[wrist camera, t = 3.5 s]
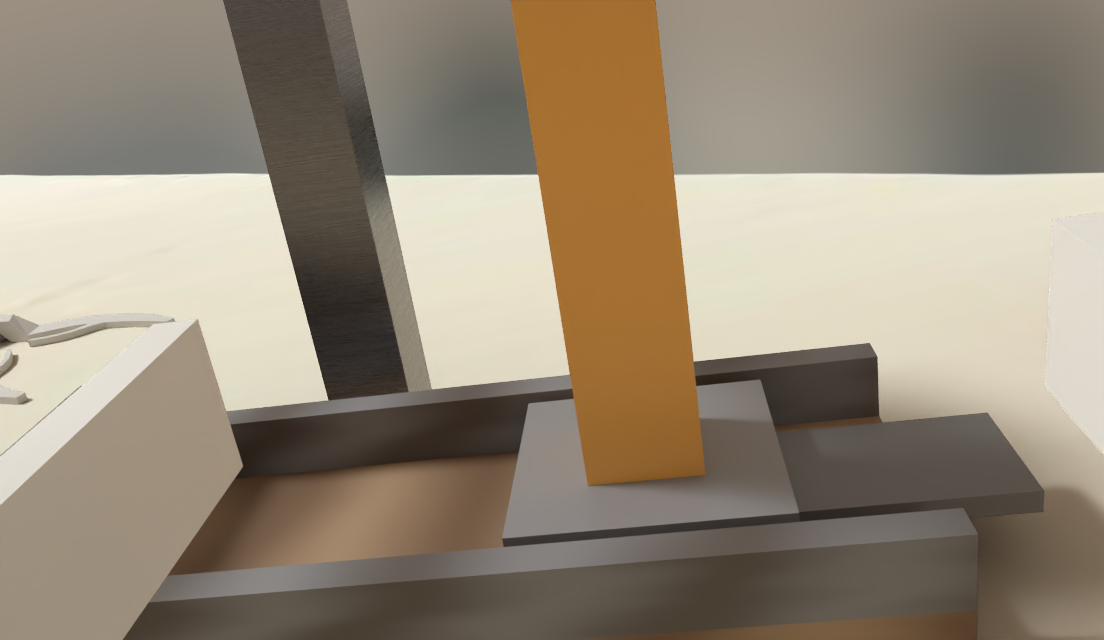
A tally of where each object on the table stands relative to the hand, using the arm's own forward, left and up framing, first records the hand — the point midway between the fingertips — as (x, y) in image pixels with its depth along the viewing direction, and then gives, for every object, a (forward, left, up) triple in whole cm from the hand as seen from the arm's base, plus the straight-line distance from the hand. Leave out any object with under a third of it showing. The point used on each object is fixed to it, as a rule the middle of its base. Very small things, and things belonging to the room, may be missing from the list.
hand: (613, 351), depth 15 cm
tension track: (-6, +9, -11) cm, 15 cm away
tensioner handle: (+3, +9, -9) cm, 13 cm away
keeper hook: (-10, +14, -11) cm, 20 cm away
